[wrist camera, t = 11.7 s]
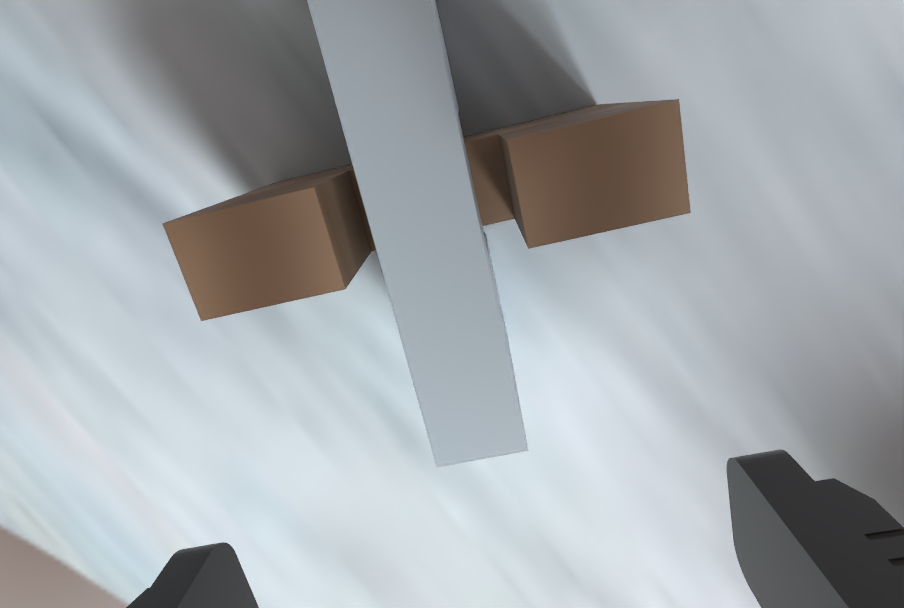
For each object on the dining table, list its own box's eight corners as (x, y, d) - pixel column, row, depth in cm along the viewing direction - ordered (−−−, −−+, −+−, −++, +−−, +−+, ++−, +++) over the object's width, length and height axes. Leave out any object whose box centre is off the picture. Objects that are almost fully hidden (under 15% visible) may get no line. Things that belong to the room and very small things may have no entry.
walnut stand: (597, 104, 20) (678, 99, 12) (607, 175, 21) (690, 212, 13) (272, 183, 21) (162, 223, 13) (294, 248, 22) (201, 321, 14)
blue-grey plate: (358, -2, 19) (284, -79, 11) (431, -21, 19) (406, -114, 11) (446, 349, 23) (436, 467, 15) (507, 337, 23) (528, 450, 15)
